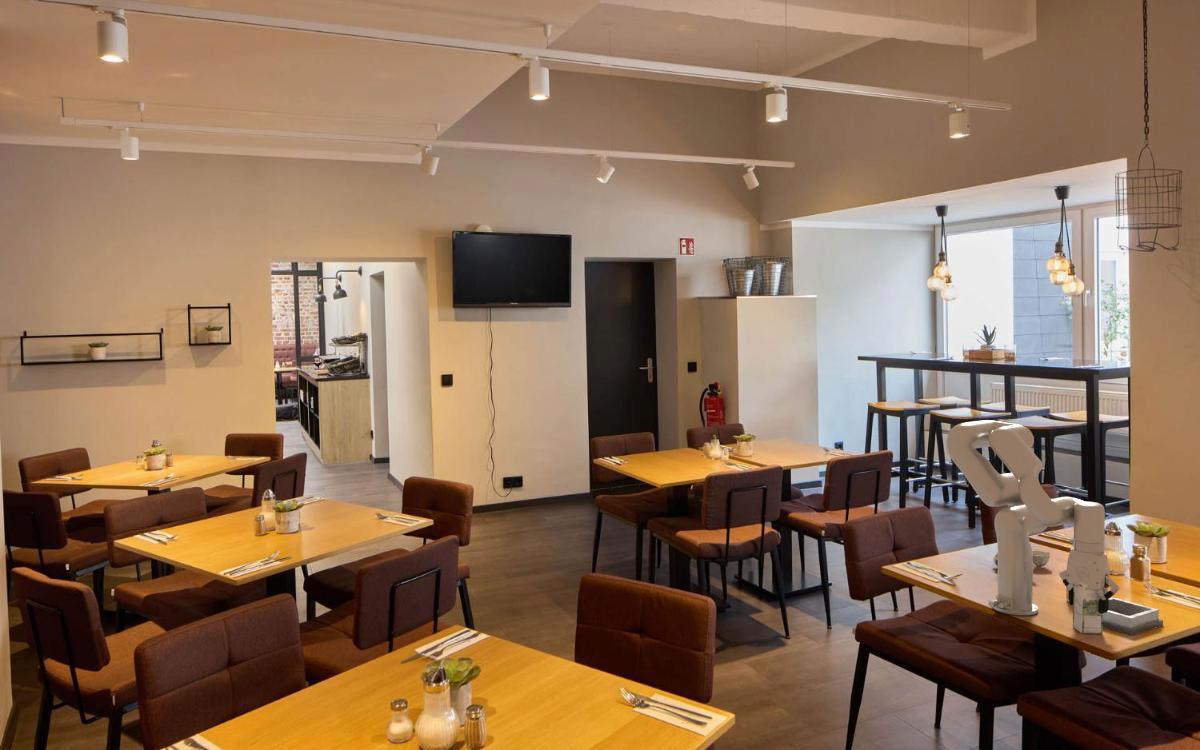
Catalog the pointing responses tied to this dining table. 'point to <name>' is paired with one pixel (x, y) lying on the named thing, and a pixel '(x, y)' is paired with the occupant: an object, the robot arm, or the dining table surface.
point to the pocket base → (1130, 617)
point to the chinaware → (1038, 559)
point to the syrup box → (1086, 610)
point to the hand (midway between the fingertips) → (1088, 607)
